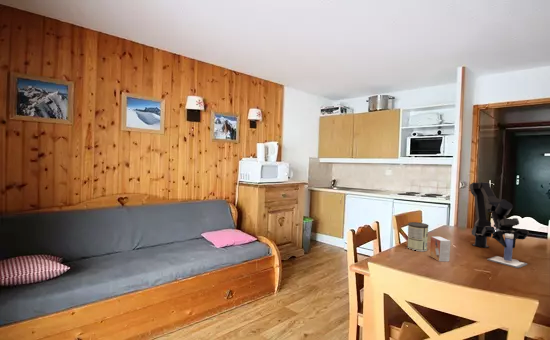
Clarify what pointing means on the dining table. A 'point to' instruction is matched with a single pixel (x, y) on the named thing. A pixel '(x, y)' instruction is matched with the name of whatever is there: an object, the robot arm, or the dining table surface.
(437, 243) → the small box
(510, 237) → the marker
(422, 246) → the coffee can
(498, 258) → the clipboard
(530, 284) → the dining table surface
